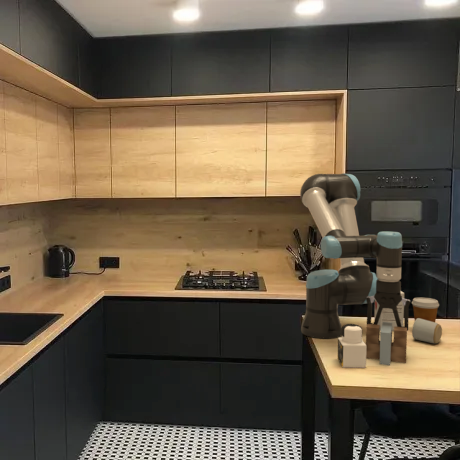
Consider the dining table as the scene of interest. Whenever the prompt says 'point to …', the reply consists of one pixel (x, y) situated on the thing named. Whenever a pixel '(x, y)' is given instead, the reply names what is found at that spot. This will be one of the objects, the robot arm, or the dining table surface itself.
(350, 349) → the medicine bottle
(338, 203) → the robot arm
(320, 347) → the dining table surface
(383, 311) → the supplement box
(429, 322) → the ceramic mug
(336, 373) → the dining table surface
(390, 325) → the slate plate
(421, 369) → the dining table surface
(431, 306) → the disposable coffee cup
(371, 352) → the walnut stand
